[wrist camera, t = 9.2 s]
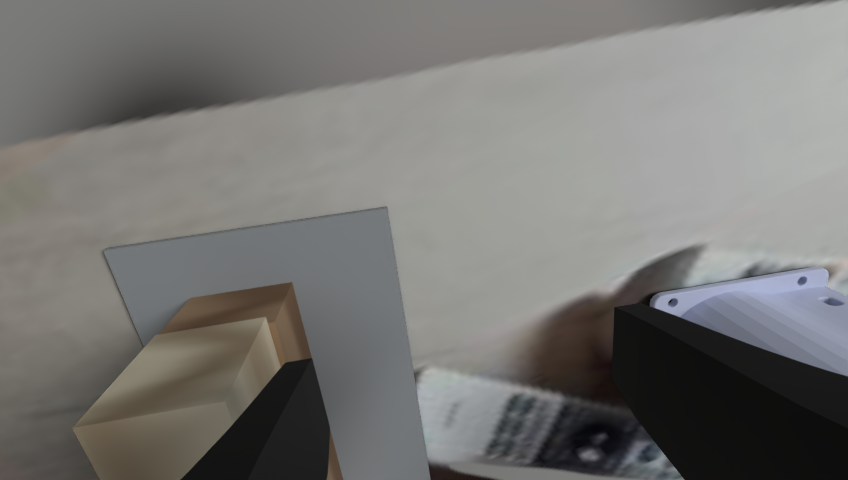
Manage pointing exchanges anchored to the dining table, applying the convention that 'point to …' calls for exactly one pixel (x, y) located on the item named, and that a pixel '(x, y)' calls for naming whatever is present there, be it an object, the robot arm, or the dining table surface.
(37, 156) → the dining table surface
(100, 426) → the plank
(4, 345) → the dining table surface
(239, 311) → the block
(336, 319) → the mat
